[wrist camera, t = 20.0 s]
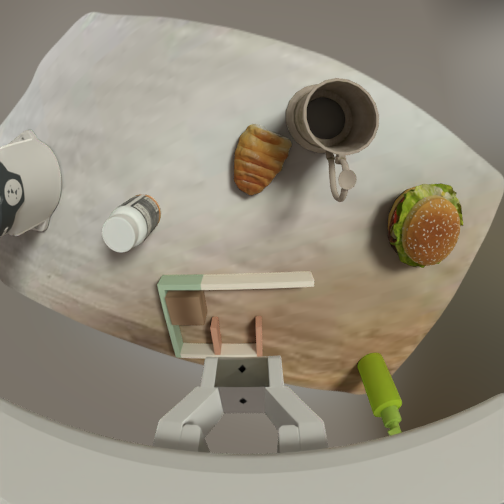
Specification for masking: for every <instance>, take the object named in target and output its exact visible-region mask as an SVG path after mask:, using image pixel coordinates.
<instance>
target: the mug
mask: <svg viewBox="0 0 504 504" xmlns="http://www.w3.org/2000/svg"><path fill="white" fill-rule="evenodd" d="M320 97H324V98H329V99H332V100H334V101H335V102H337V103H338V104H339V105H340V106H341V108H342V109H343V111H344V114H345V125H344V128H343V130H342V131H341V133H340V134H339V135H337V136H336V137H334V138H331V139H320V138H317V137H315V136H314V135H313V134H312V132H311V131H310V128H309V125H308V122H307V105H308V103H309V102H310V101H312V100H314V99H316V98H320ZM286 123H287V126H288V129H289V132H290V134H291V135H292V137H293V138H294V139H295V141H296V142H297V143H298V144H300V145H301V146H302V147H304V148H305V149H307V150H310V151H313V152H316V153H326V158H327V159H328V163H329V177H330V187H331V192H332V195H333V197H334V199H335V200H336V201H338V202H342V201H344V200H345V198H346V196H347V193H348V189H351V188H353V187H354V185H355V184H356V175H355V173H354V172H353V171H352V170H349V166H348V164H347V162H346V157H345V155H350V154H354V153H358V152H360V151H361V150H363V149H365V148H366V147H368V146H369V144H370V143H371V142H372V140H373V139H374V138H375V136H376V133H377V130H378V127H379V114H378V110H377V107H376V103H375V102H374V100H373V99H372V97H371V95H370V94H369V93H368V92H367V91H366V90H365V89H364V88H363V87H362V86H360V85H359V84H357V83H355V82H352V81H350V80H347V79H339V78H335V79H330V80H325V81H323V82H321V83H320V84H316V85H311V86H307V87H304V88H303V89H301V90H300V91H298V92H296V94H295V95H294V96H293V97H292V99H291V100H290V101H289V104H288V107H287V110H286ZM333 153H334V154H336V156H335V157H334V155H333ZM334 160H335V163H336V164H341V165H342V170H343V171H342V172H341V173H340V175H339V179H338V180H339V185H340V186H341V187H342V189H341V193H340V196H339V195H338V192H337V188H336V179H335V164H334Z"/></svg>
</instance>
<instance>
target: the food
mask: <svg viewBox="0 0 504 504" xmlns="http://www.w3.org/2000/svg"><path fill="white" fill-rule="evenodd" d="M455 196H456V192H454V191H453V188H452V187H451V186H449V185H445V184H430V185H428V184H422V185H420V186H416V187H413V188H410V189H407V190H406V191H405V192H404V193H403V194H402V195H401V196H399V197H398V198H397V199H396V200H395V202H394V205H393V207H392V209H391V211H390V213H389V218H388V238H389V241H390V242H389V243H390V244H391V246H392V248H393V249H394V250H395V251H396V252H397V253H398V255H399V258H400V259H399V260H400V261H401V262H403V263H405V264H407V265H410V266H414V267H416V266H419V267H421V268H424V267H425V266H429V265H434V264H439V263H440V262H441V261H442V260H443V259H445V258H446V257H447V256H448V255H449V254H450V253H451V251H452V250H453V248H454V246H455V245H456V243H457V240H458V237H459V233H460V227H461V225H462V226H463V219H462V210H461V205H460V204H459V203H460V202H459V200H458V199H457V198H456V197H455Z"/></svg>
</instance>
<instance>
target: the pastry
mask: <svg viewBox="0 0 504 504" xmlns="http://www.w3.org/2000/svg"><path fill="white" fill-rule="evenodd" d="M291 146H292V143H291V141H290V139H288V138H286V137H284V136H281V135H279V134H277V133H274V132H270V131H268V130H267V129H266V128H265V127H263V126H260V125H258V124H252V125H250V126H248V127H247V129H246V130H245V132H244V133H242V135H241V136H240V138H239V142H238V145H237V148H236V151H235V158H234V181H235V183H236V185H237V187H238V188H239V189H240V190H241V191H243V192H245V193H247V194H248V195H254V194H257V193H260V192H262V190H263V189H264V188H265V187H266V186H268V185H269V184H270V183H271V182H272V180H273V179H274V177H275V176H276V174H278V173H279V172H280V171H281V170H282V165H283V163H284V161H285V159H287V157H288V153H289V149H290V147H291Z"/></svg>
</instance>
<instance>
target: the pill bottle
mask: <svg viewBox="0 0 504 504" xmlns="http://www.w3.org/2000/svg"><path fill="white" fill-rule="evenodd" d="M160 218H161V209H160V206H159V204H158V202H157V201H156V200H155V199H154V198H153V197H151V196H149V195H146V194H139V195H136V196H134V197H132V198H131V199H129V200H128V201H126V202H125V203H123V204H122V205H120V206H119V207H117V208H116V209H115V210H114V211H113V212H112V213H111V215H110V217H109V219H108V220H107V221H106V222H105V223H104V225H103V228H102V236H103V239H104V242H105V243H106V245H107V246H108V247H109V248H110V249H112V250H113V251H116V252H126V251H128V250H130V249H131V248H132V247H135V246H138V245H139V244H141V243H142V242H143V241H144V240H145V239H146V237H147V236H148V235H149V234H150V233H151V232H152V230H153V229H154V228H155V227H156V226H157V224H158V223H159V221H160Z"/></svg>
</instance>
